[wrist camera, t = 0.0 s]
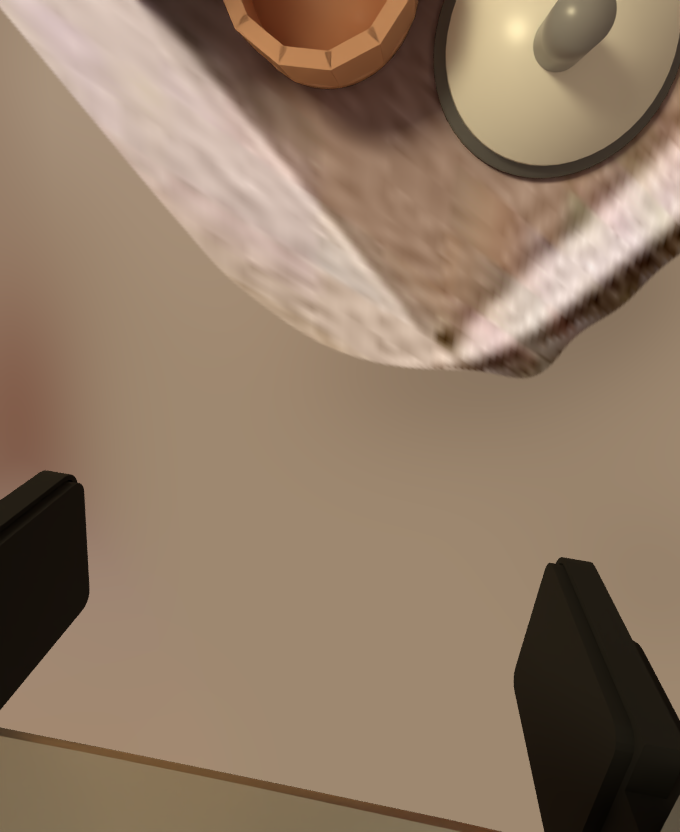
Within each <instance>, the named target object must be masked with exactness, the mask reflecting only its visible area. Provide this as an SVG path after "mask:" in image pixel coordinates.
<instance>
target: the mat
mask: <svg viewBox="0 0 680 832" xmlns="http://www.w3.org/2000/svg"><path fill="white" fill-rule="evenodd" d="M455 3H456V0H444V3H443V6H442V9H441V12H440V15H439V20H438V25H437V30H436V35H435V45H434V75H435V82H436V89H437V93H438V96H439V100H440V104H441V107H442V109H443V112H444V114H445V116H446V119H447V121H448V122H449V124H450V126H451V128H452V129H453V131H454V133H455V134H456V135H457V137H458V138H459V139H460V141H461V142H462V143H463V144H464V145H465V146H466V147H467V148H468V149H469V150H470V151H471V152H472V153H473V154H474V155H475V156H476V157H478V158H479V159H481V160H482V161H483V162H485V163H486V164H488V165H490V166H492V167H494V168H496V169H498V170H500V171H503V172H506V173H509V174H511V175H516V176H521V177H526V178H551V177H559V176H563V175H568V174H572V173H576V172H579V171H581V170H584V169H587V168H590V167H592V166H593V165H595V164H597V163H599V162H601V161H603V160H605V159H607V158H608V157H610V156H611V155H613V154H614V153H616V152H617V151H619V150H620V149H621V148H622V147H624V146H625V145H626V144H627V143H628V142H630V141H631V140H632V139H633V138H634V137H635V136H636V135H637V134H638V133H639V132H640V131H641V130H642V129H643V128H644V127H645V126H646V124H647V123H648V122H649V120H650V119H651V118H652V117H653V115H654V114H655V113H656V111H657V110H658V108H659V107H660V105H661V103H662V102H663V100H664V99H665V97H666V95H667V93H668V91H669V89H670V87H671V85H672V83H673V81H674V79H675V76H676V74H677V71H678V68H679V65H680V34H679V40H678V45H677V49H676V53H675V57H674V59H673V62H672V65H671V68H670V71H669V73H668V75H667V77H666V79H665V82H664V84H663V86H662V88H661V89H660V91H659V93H658V94H657V96H656V98H655V99H654V101H653V102H652V104H651V105H650V106H649V108H648V109H647V110H646V112H645V113H644V114H643V116H642V117H641V118H640V119H639V120H638V121H637V122H636V123H635V124H634V125H633V126H632V127H631V128H630V129H629V130H628V131H627V132H625V133H624V134H623V135H622V136H621V137H620V138H618V139H617V140H616V141H614V142H613V143H611V144H610V145H608V146H607V147H605V148H603V149H601V150H599V151H597V152H596V153H594V154H592V155H589V156H587V157H584V158H581V159H578V160H576V161H572V162H568V163H564V164H559V165H550V166H534V165H526V164H521V163H516V162H514V161H511V160H508V159H505V158H503V157H501V156H499V155H497V154H495V153H493V152H492V151H490V150H489V149H488V148H486V147H485V146H484V145H482V144H481V143H480V142H479V141H478V140H477V139H476V138H475V137H474V136H473V135H472V134H471V132H470V131H469V130H468V128H467V127H466V126H465V124H464V123H463V121H462V119H461V118H460V116H459V114H458V112H457V110H456V108H455V105H454V103H453V100H452V98H451V94H450V90H449V86H448V81H447V73H446V42H447V34H448V29H449V24H450V20H451V15H452V12H453V9H454V6H455Z"/></svg>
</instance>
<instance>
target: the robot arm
mask: <svg viewBox="0 0 680 832" xmlns="http://www.w3.org/2000/svg"><path fill="white" fill-rule="evenodd" d="M88 574H89V573H88V555H87V537H86V518H85V500H84V488H83V486H82V485H81V484H80V483H77V480H76V478H75V477H74V476H73V475H70V474H64V473H58V472H52V471H42V472H40V473H38V474H37V475H35V476H34V477H33V478H31V479H30V480H28V481H27V482H26V483H24V484H23V485H21V486H20V487H18V488H17V489H16V490H14V491H13V492H11V493H10V494H9V495H7V496H6V497H4V498H3V499H1V500H0V709H1V708H2V707H3V706H4V705H5V704H6V702H7V701H8V700H9V699H10V697H11V696H12V695H13V694H14V692H15V691H16V690H17V689H18V688H19V687H20V685H21V684H22V683H23V682H24V680H25V679H26V678H27V677H28V676H29V674H30V673H31V672H32V671H33V669H34V668H35V667H36V666H37V665H38V663H39V662H40V661H41V660H42V659H43V657H44V656H45V655H46V654H47V653H48V651H49V650H50V649H51V647H52V646H53V645H54V644H55V643H56V641H57V640H58V639H59V638H60V637H61V635H62V634H63V633H64V632H65V631H66V629H67V628H68V627H69V626H70V625H71V623H72V622H73V621H74V619H75V618H76V617H77V616H78V615H79V614H80V612H81V611H82V610H83V609H84V607H85V605H86V603H87V600H88V597H89V575H88ZM514 690H515V695H516V699H517V704H518V709H519V714H520V719H521V724H522V728H523V733H524V738H525V742H526V747H527V752H528V757H529V761H530V766H531V770H532V776H533V780H534V785H535V790H536V794H537V799H538V804H539V809H540V813H541V818H542V822H543V827H544V832H680V720H679V718H678V716H677V714H676V712H675V710H674V709H673V707H672V705H671V703H670V701H669V699H668V697H667V695H666V693H665V691H664V689H663V688H662V686H661V684H660V682H659V680H658V678H657V676H656V674H655V672H654V670H653V668H652V667H651V665H650V663H649V661H648V659H647V657H646V655H645V653H644V651H643V650H642V648H641V647H640V645H639V644H638V643H636V642H635V641H633V640H632V638H631V636H630V635H629V632H628V630H627V628H626V626H625V625H624V623H623V621H622V619H621V617H620V615H619V613H618V611H617V609H616V607H615V605H614V603H613V601H612V599H611V597H610V595H609V593H608V591H607V589H606V587H605V586H604V583H603V581H602V579H601V578H600V575H599V574H598V572H597V570H596V568H595V566H594V565H593V563H591V562H586V561H581V560H575V559H569V558H563V557H561V558H559V559H558V561H557V562H556V564H553V563H549V564H548V565H547V566H546V568H545V571H544V575H543V578H542V581H541V585H540V588H539V591H538V594H537V598H536V601H535V604H534V608H533V611H532V614H531V618H530V621H529V625H528V628H527V631H526V634H525V638H524V641H523V644H522V648H521V651H520V654H519V658H518V661H517V664H516V668H515V672H514ZM0 832H501V831H496V830H492V829H488V828H484V827H479V826H475V825H470V824H466V823H462V822H457V821H453V820H449V819H444V818H439V817H434V816H429V815H425V814H420V813H415V812H411V811H406V810H401V809H396V808H392V807H386V806H382V805H377V804H373V803H368V802H363V801H358V800H353V799H349V798H344V797H339V796H334V795H330V794H325V793H320V792H316V791H311V790H306V789H301V788H297V787H292V786H287V785H282V784H277V783H272V782H268V781H263V780H258V779H253V778H248V777H243V776H238V775H233V774H229V773H224V772H219V771H214V770H209V769H204V768H199V767H195V766H190V765H185V764H180V763H175V762H169V761H165V760H160V759H155V758H150V757H145V756H140V755H135V754H131V753H126V752H121V751H116V750H111V749H106V748H101V747H96V746H91V745H86V744H81V743H76V742H70V741H66V740H61V739H55V738H50V737H45V736H40V735H35V734H30V733H25V732H20V731H15V730H10V729H5V728H0Z"/></svg>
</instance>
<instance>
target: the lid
mask: <svg viewBox="0 0 680 832" xmlns="http://www.w3.org/2000/svg"><path fill="white" fill-rule="evenodd" d="M679 34H680V0H456V3H455V6H454V9H453V12H452V15H451V20H450V24H449V29H448V34H447V42H446V73H447V81H448V86H449V90H450V94H451V98H452V100H453V103H454V105H455V108H456V110H457V112H458V114H459V116H460V118H461V119H462V121H463V123H464V124H465V126H466V127H467V128H468V130H469V131H470V132H471V134H472V135H473V136H474V137H475V138H476V139H477V140H478V141H479V142H480V143H481V144H482V145H484V146H485V147H486V148H488V149H489V150H490V151H492V152H493V153H495V154H497V155H499V156H501V157H503V158H505V159H508V160H511V161H514V162H516V163H521V164H526V165H534V166H550V165H559V164H564V163H568V162H572V161H576V160H578V159H581V158H584V157H587V156H589V155H592V154H594V153H596V152H597V151H599V150H601V149H603V148H605V147H607V146H608V145H610V144H611V143H613V142H614V141H616V140H617V139H618V138H620V137H621V136H622V135H623V134H624V133H625V132H627V131H628V130H629V129H630V128H631V127H632V126H633V125H634V124H635V123H636V122H637V121H638V120H639V119H640V118H641V117H642V116H643V114H644V113H645V112H646V110H647V109H648V108H649V106H650V105H651V104H652V102H653V101H654V99H655V98H656V96H657V94H658V93H659V91H660V89H661V88H662V86H663V84H664V82H665V79H666V77H667V75H668V73H669V71H670V68H671V65H672V62H673V59H674V57H675V53H676V49H677V45H678V40H679Z"/></svg>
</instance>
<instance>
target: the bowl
mask: <svg viewBox="0 0 680 832" xmlns="http://www.w3.org/2000/svg"><path fill="white" fill-rule="evenodd" d="M223 1H224V3H225V6H226V8H227V11H228V13H229V16H230V18H231V20H232V23H233V25H234V28H235V29H236V30H237V31H238V32H239V33H240V34H241V35H242V36H243V37H244V38H245V39H246V40H247V41H248V42H249V43H250V44H251V45H252V47H253V48H254V49H255V50H256V51H258V52H259V53H260V54H261V55H262V56H264V57H265V58H266V59H267V60H268V61H269V62H270V63H271V64H272V65H273V66H274V67H275V68H276V69H277V70H278V71H280V72H281V73H282V74H284V75H285V76H287V77H288V78H290V79H291V80H293V81H294V82H297V83H300V84H303V85H306V86H309V87H314V88H319V89H336V88H343V87H347V86H351V85H354V84H356V83H358V82H361V81H363V80H365V79H367V78H368V77H370V76H372V75H373V74H375V73H376V72H377V71H378V70H380V69H381V68H382V67H383V66H384V65H385V64H386V63H387V62H388V61H389V60H390V59H391V58H392V57H393V56H394V54H395V53H396V52H397V50H398V49H399V48H400V46H401V44H402V43H403V41H404V39H405V38H406V36H407V34H408V32H409V29H410V27H411V25H412V22H413V20H414V18H415V13H416V10H417V6H418V0H223Z"/></svg>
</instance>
